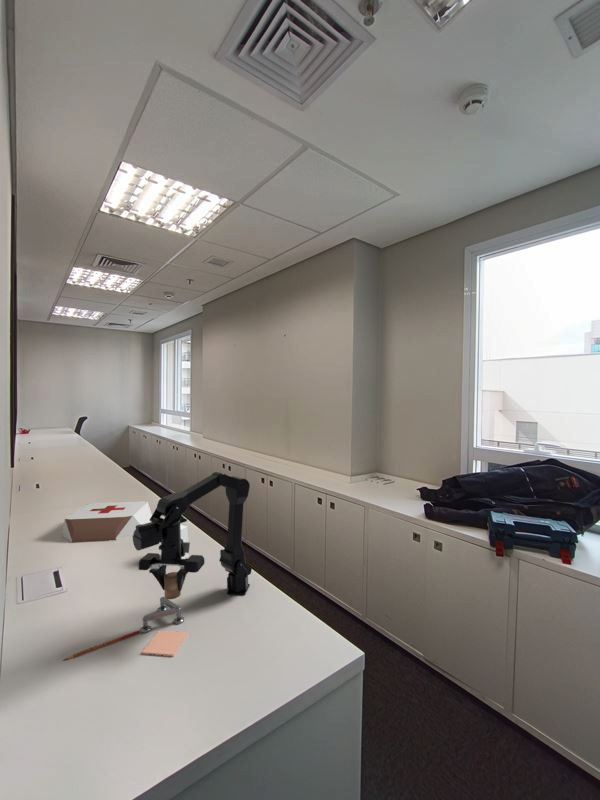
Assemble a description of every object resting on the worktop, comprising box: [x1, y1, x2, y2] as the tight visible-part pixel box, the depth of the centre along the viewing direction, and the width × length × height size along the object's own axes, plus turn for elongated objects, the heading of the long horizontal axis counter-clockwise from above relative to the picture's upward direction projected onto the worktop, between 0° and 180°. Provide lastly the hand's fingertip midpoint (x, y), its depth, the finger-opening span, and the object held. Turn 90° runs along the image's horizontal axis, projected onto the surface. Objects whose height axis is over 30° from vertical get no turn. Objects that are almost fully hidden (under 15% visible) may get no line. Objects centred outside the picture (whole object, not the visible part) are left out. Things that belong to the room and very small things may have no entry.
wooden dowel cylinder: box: [163, 571, 182, 600], centre depth 114 cm, size 5×5×6 cm
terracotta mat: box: [141, 630, 189, 657], centre depth 105 cm, size 9×9×1 cm
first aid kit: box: [61, 500, 153, 544], centre depth 194 cm, size 34×41×10 cm
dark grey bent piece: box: [139, 596, 185, 634], centre depth 116 cm, size 11×13×4 cm
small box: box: [180, 524, 190, 559], centre depth 158 cm, size 8×6×13 cm
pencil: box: [62, 630, 140, 661], centre depth 105 cm, size 19×1×1 cm, turn 125°
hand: (172, 590), depth 114 cm, fingers closed on wooden dowel cylinder, 5 cm apart
